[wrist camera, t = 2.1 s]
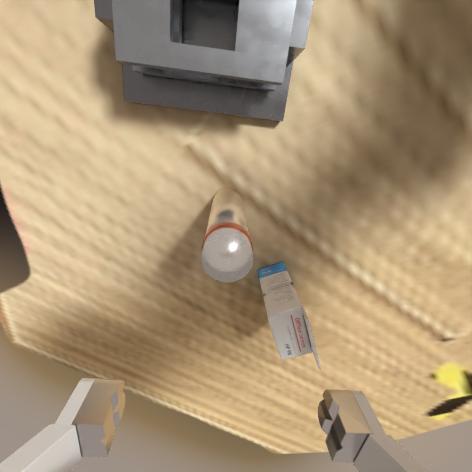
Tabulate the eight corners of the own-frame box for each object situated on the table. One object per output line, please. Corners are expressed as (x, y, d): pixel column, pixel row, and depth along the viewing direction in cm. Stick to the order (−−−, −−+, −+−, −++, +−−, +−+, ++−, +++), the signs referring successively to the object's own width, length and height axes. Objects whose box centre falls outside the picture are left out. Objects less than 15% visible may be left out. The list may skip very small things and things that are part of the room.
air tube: (244, 189, 37) (258, 237, 21) (241, 218, 39) (250, 285, 22) (213, 185, 37) (201, 232, 20) (211, 215, 39) (198, 281, 22)
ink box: (256, 268, 43) (269, 333, 29) (284, 260, 42) (311, 323, 29) (268, 306, 46) (285, 381, 32) (294, 299, 45) (322, 372, 32)
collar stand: (307, -39, 27) (339, -106, 19) (280, 121, 34) (296, 119, 26) (120, -72, 26) (73, -158, 18) (128, 102, 32) (97, 93, 24)
